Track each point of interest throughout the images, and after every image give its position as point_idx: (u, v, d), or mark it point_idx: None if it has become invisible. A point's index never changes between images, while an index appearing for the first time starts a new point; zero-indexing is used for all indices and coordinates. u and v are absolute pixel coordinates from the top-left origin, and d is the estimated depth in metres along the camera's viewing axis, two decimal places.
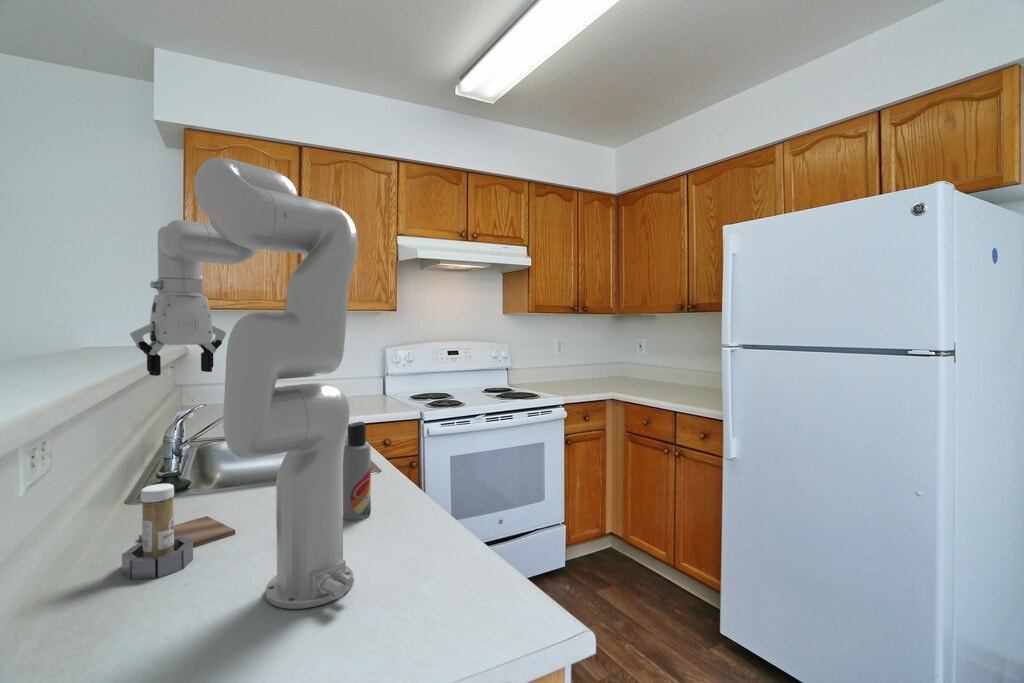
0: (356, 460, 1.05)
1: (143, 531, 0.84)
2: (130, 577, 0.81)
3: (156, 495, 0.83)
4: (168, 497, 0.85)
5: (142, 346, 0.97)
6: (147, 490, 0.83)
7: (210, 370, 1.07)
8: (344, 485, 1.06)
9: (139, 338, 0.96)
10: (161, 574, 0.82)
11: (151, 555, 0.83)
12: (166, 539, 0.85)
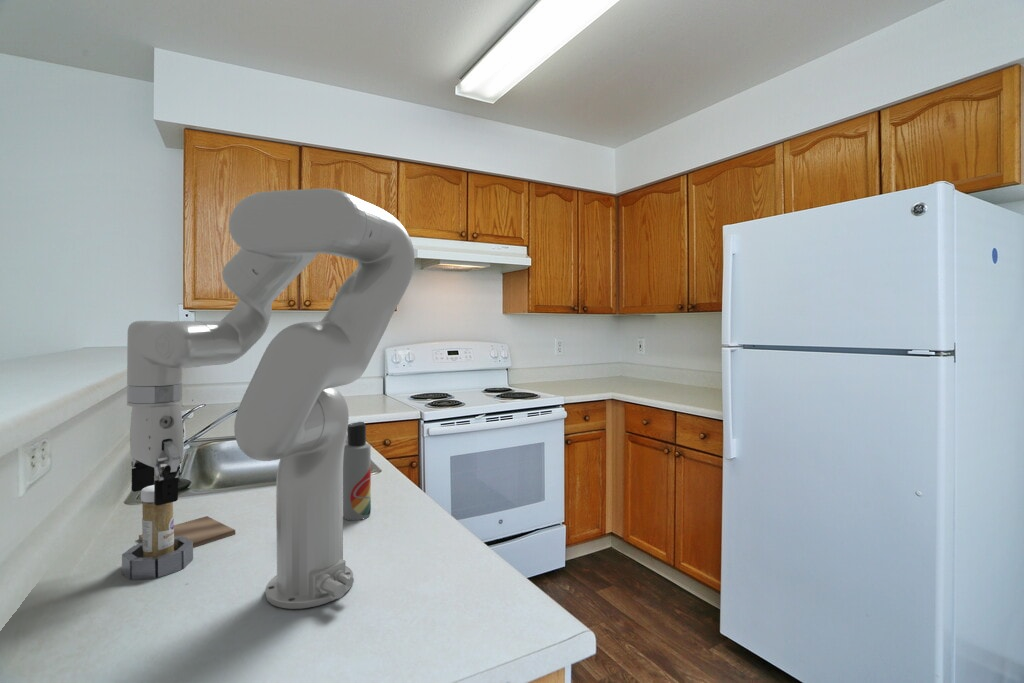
0: (356, 460, 1.05)
1: (143, 531, 0.84)
2: (130, 577, 0.81)
3: None
4: None
5: (178, 469, 0.82)
6: (147, 490, 0.83)
7: None
8: (344, 485, 1.06)
9: None
10: (161, 574, 0.82)
11: (151, 555, 0.83)
12: (166, 539, 0.85)
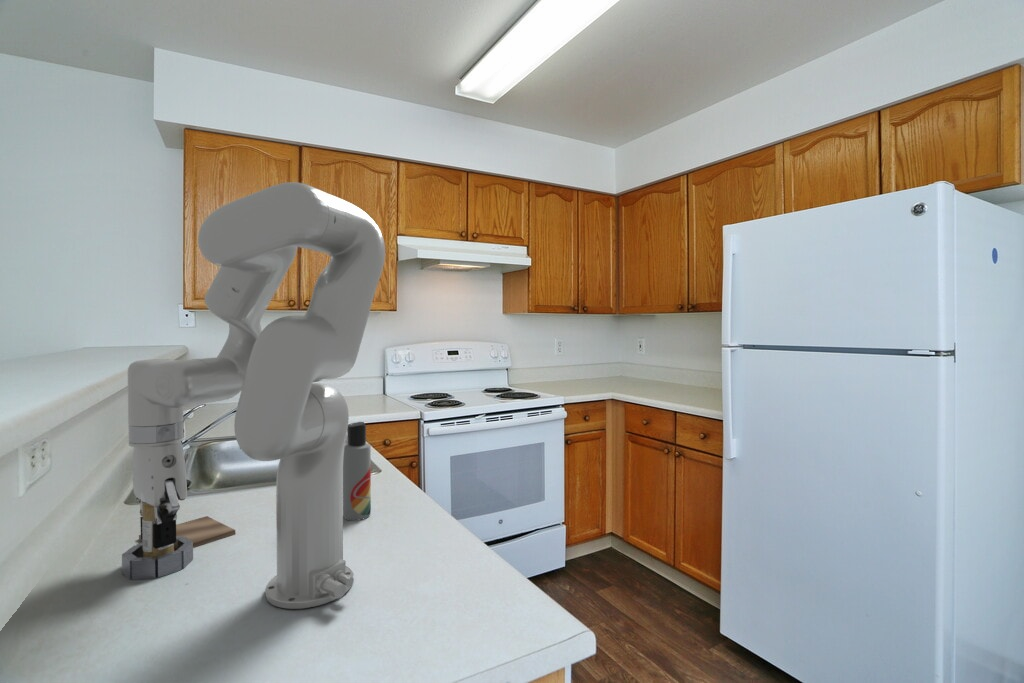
0: (356, 460, 1.05)
1: (143, 531, 0.84)
2: (130, 577, 0.81)
3: None
4: None
5: (176, 512, 0.83)
6: None
7: None
8: (344, 485, 1.06)
9: None
10: (161, 574, 0.82)
11: (151, 555, 0.83)
12: None
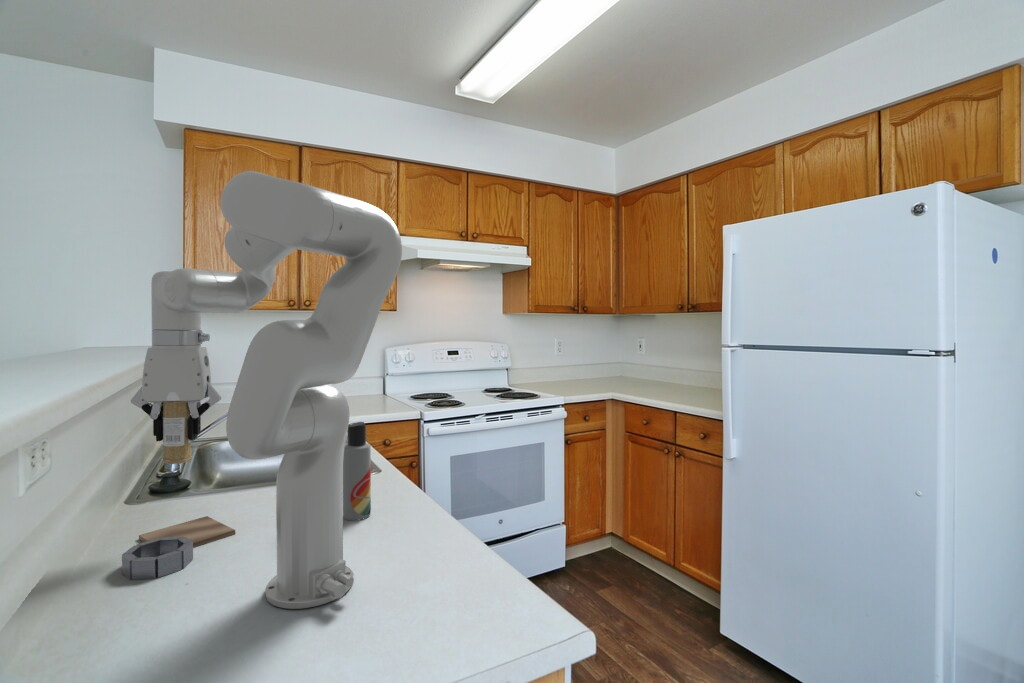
0: (356, 460, 1.05)
1: (173, 428, 0.91)
2: (130, 577, 0.81)
3: None
4: None
5: None
6: None
7: None
8: (344, 485, 1.06)
9: None
10: (161, 574, 0.82)
11: (183, 448, 0.92)
12: None
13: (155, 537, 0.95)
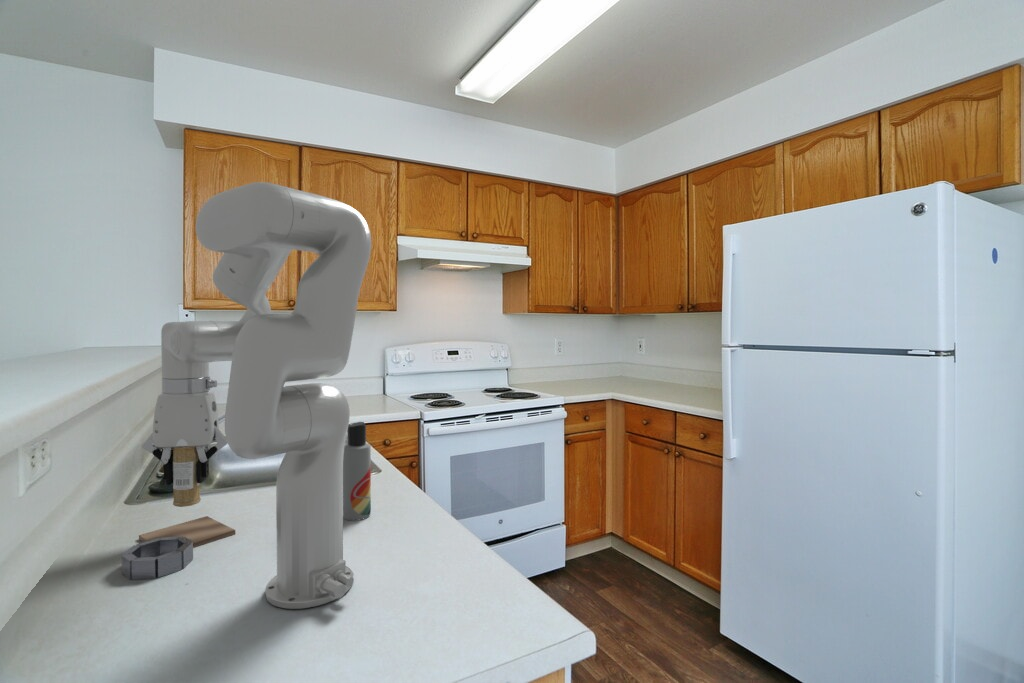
0: (356, 460, 1.05)
1: (182, 472, 0.95)
2: (130, 577, 0.81)
3: None
4: None
5: None
6: None
7: None
8: (344, 485, 1.06)
9: None
10: (161, 574, 0.82)
11: (192, 491, 0.96)
12: None
13: (155, 537, 0.95)
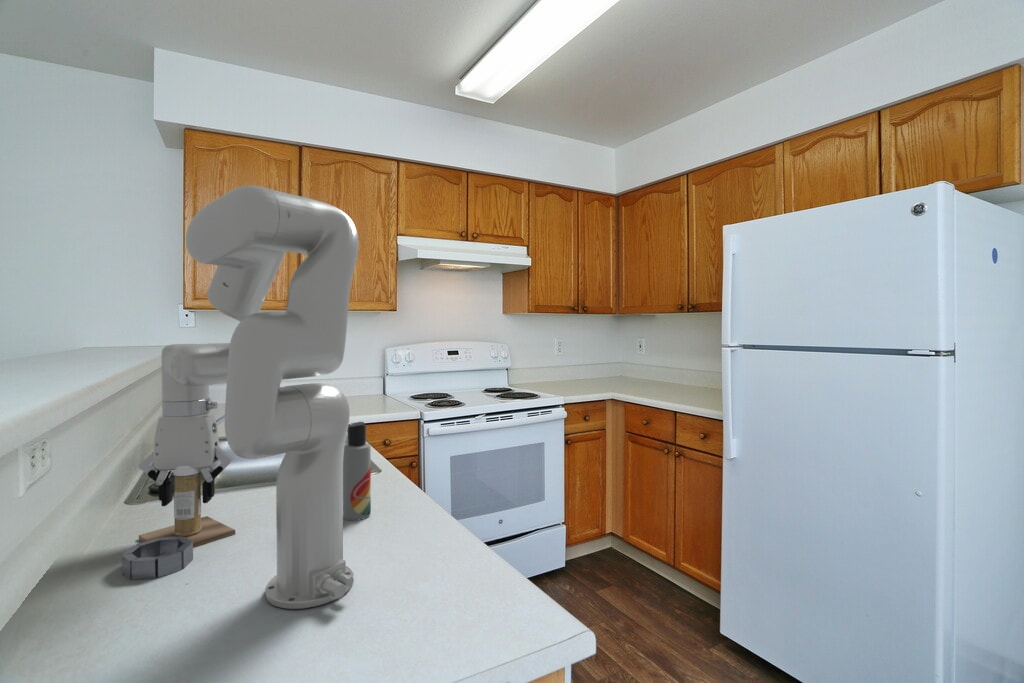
0: (356, 460, 1.05)
1: (183, 502, 0.95)
2: (130, 577, 0.81)
3: None
4: None
5: None
6: None
7: None
8: (344, 485, 1.06)
9: None
10: (161, 574, 0.82)
11: (193, 520, 0.96)
12: None
13: (155, 537, 0.95)
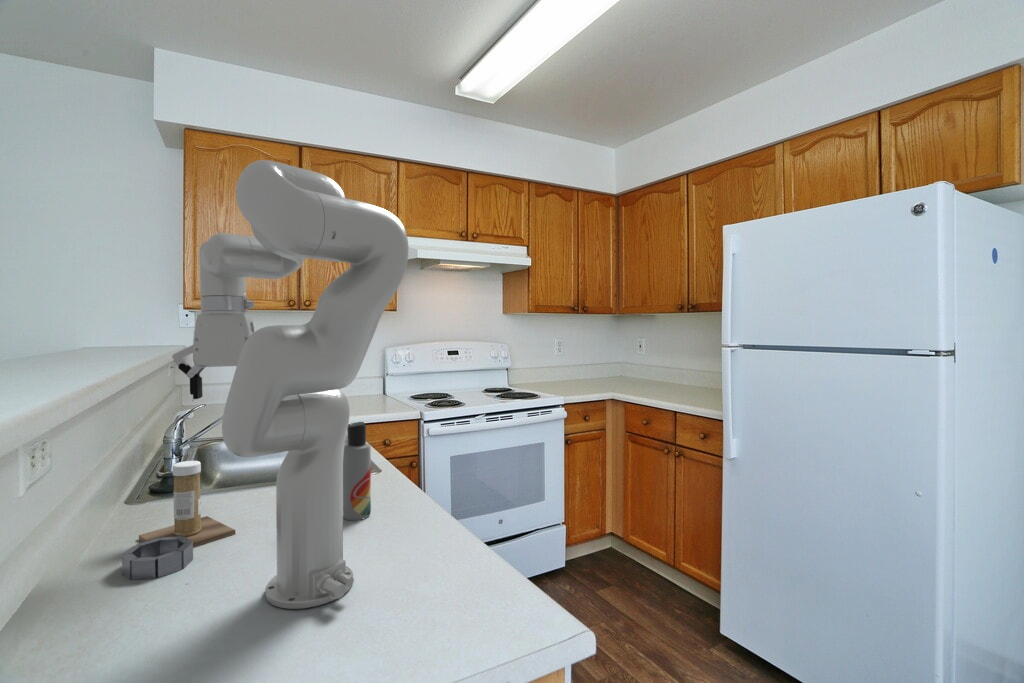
0: (356, 460, 1.05)
1: (183, 502, 0.95)
2: (130, 577, 0.81)
3: (197, 468, 0.96)
4: (200, 469, 0.98)
5: None
6: (186, 465, 0.95)
7: None
8: (344, 485, 1.06)
9: None
10: (161, 574, 0.82)
11: (193, 520, 0.96)
12: (200, 505, 0.98)
13: (155, 537, 0.95)
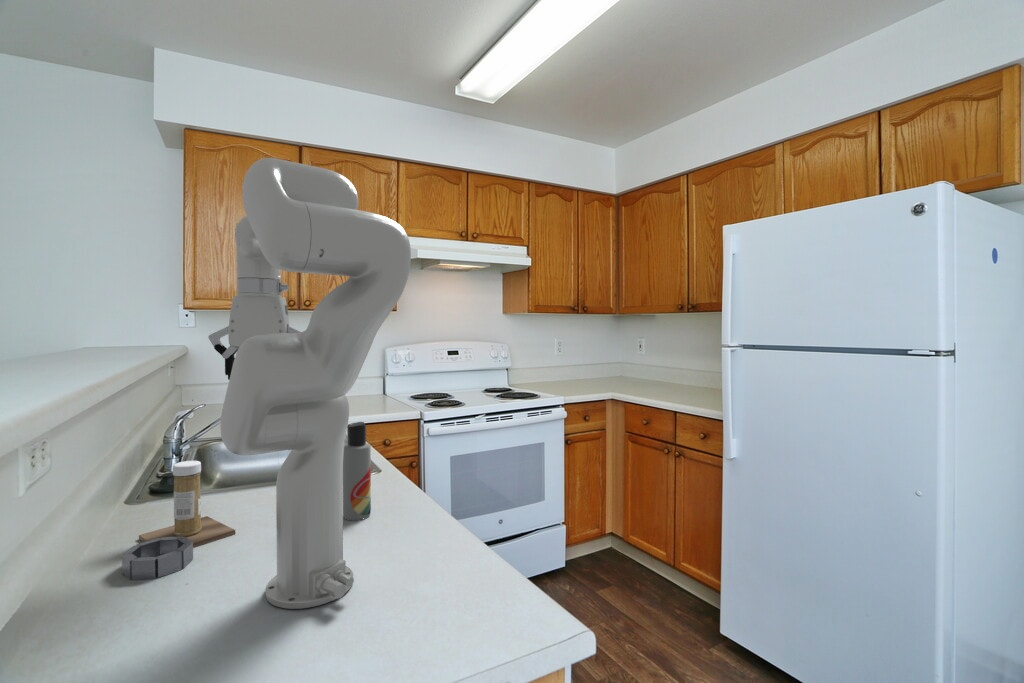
0: (356, 460, 1.05)
1: (183, 502, 0.95)
2: (130, 577, 0.81)
3: (197, 468, 0.96)
4: None
5: None
6: (187, 465, 0.95)
7: None
8: (344, 485, 1.06)
9: None
10: (161, 574, 0.82)
11: (193, 520, 0.96)
12: (200, 505, 0.98)
13: (155, 537, 0.95)
